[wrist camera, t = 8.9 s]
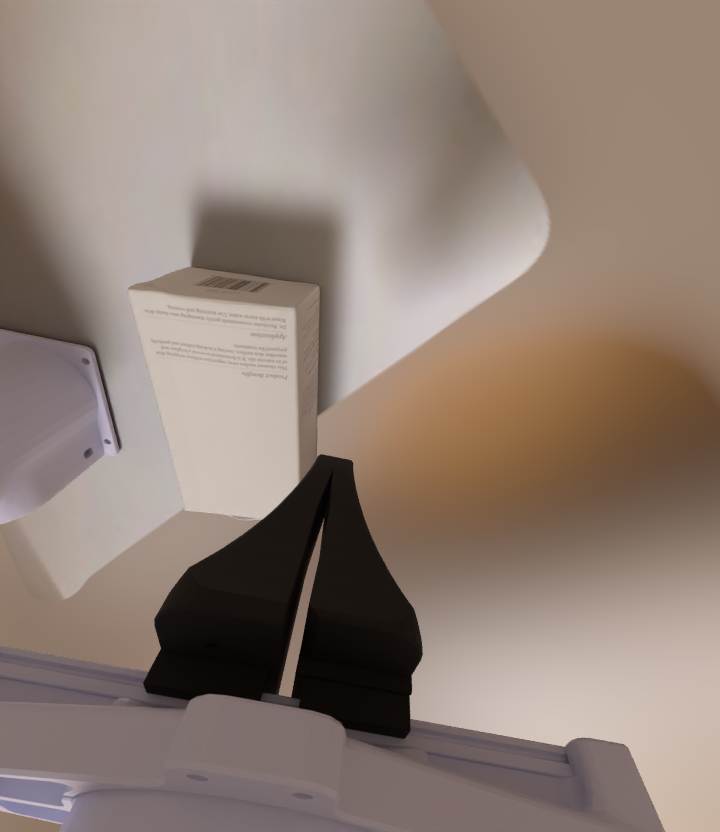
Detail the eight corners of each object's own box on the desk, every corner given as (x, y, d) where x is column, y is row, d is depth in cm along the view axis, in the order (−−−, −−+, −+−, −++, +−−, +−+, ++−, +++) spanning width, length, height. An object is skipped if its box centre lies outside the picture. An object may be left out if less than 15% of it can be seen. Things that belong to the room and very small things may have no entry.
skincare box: (188, 263, 20) (217, 456, 28) (116, 284, 15) (177, 513, 23) (328, 283, 20) (317, 471, 28) (304, 310, 14) (299, 531, 22)
